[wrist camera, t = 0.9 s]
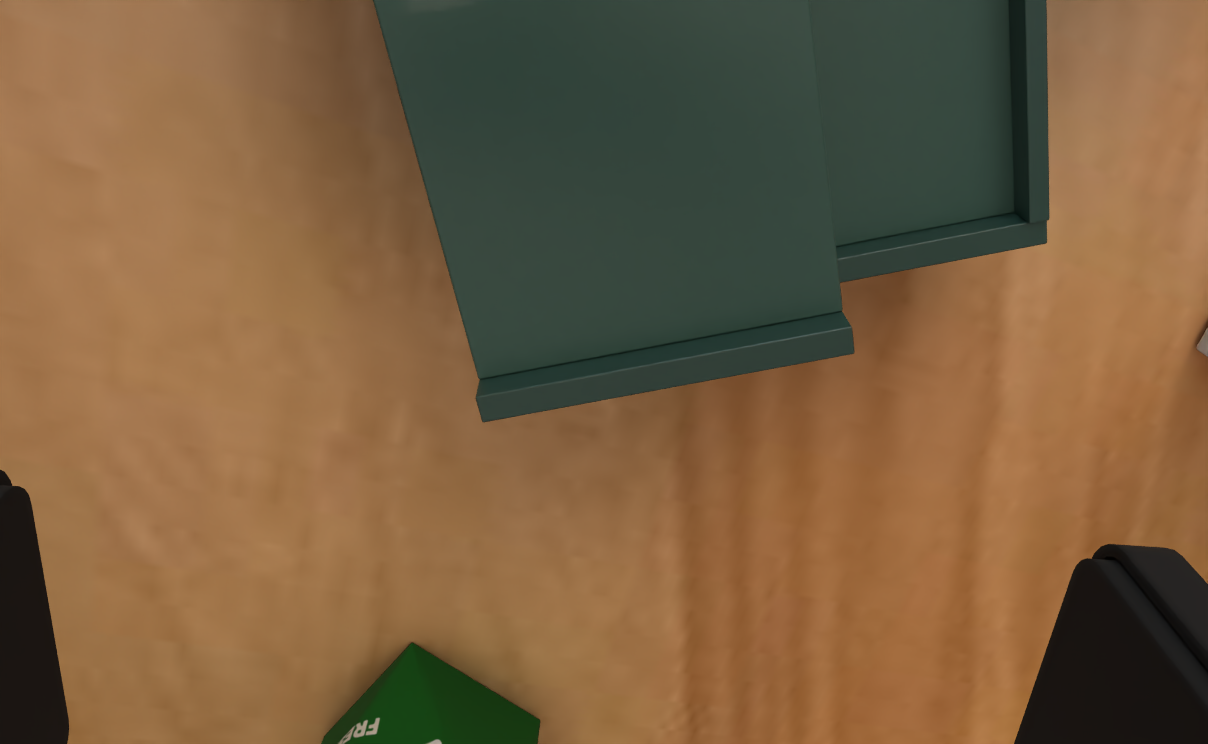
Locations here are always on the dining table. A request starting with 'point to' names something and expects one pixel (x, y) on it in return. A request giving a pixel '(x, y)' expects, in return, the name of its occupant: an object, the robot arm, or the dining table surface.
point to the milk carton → (431, 709)
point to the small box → (1203, 344)
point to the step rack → (707, 173)
